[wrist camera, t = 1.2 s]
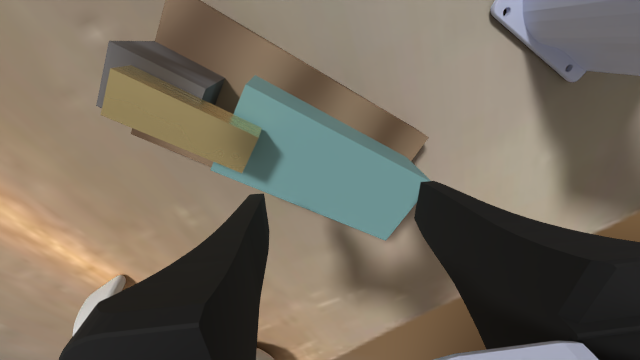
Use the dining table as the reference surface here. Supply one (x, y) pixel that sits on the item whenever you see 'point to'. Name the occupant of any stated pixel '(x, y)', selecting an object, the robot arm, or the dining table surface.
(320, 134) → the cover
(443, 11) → the dining table surface
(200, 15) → the base
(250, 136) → the tan rectangular bar
